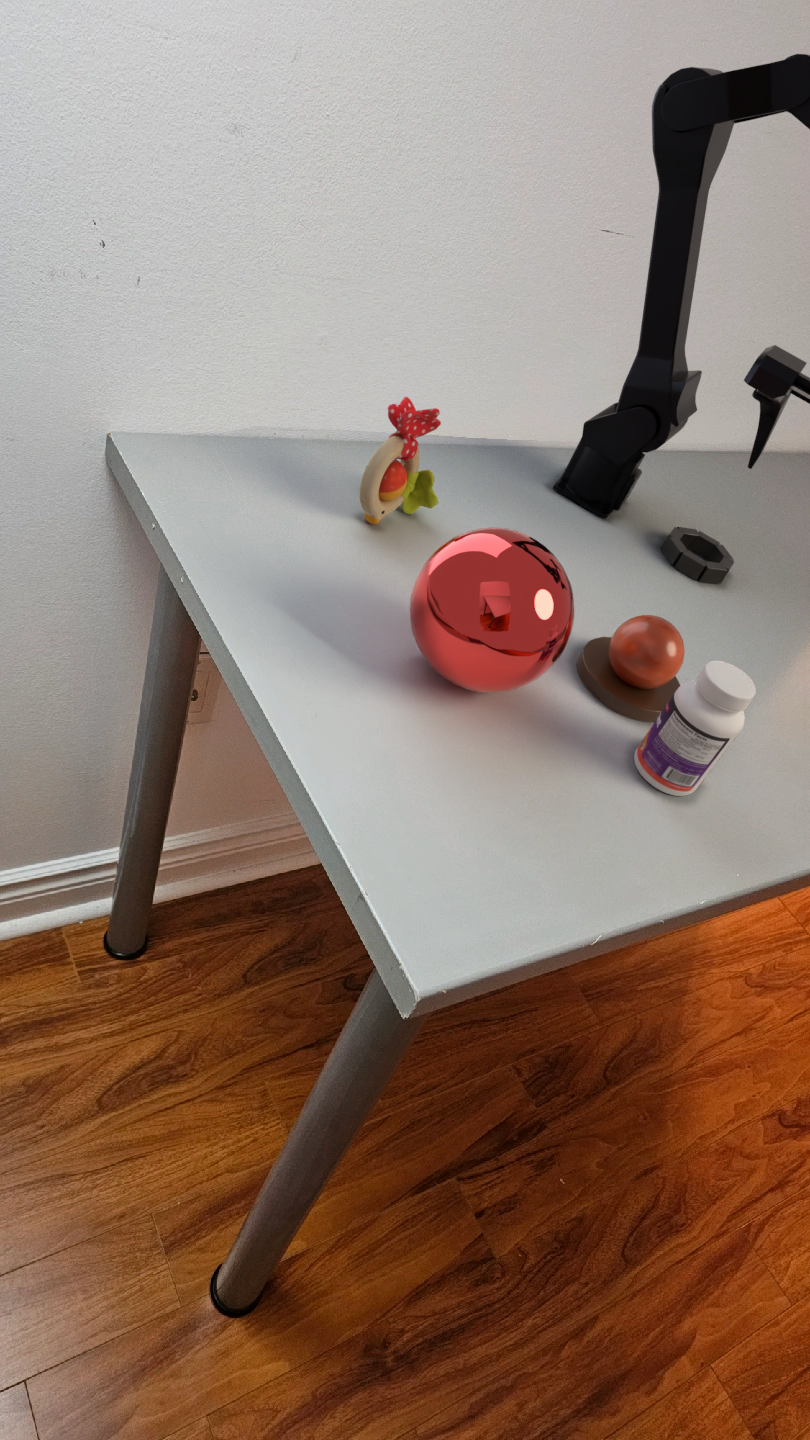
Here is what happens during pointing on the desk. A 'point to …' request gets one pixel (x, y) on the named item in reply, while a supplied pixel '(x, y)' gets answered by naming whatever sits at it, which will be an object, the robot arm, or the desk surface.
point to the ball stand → (634, 667)
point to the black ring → (692, 564)
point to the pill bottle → (695, 729)
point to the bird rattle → (399, 466)
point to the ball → (492, 610)
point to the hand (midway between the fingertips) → (792, 491)
